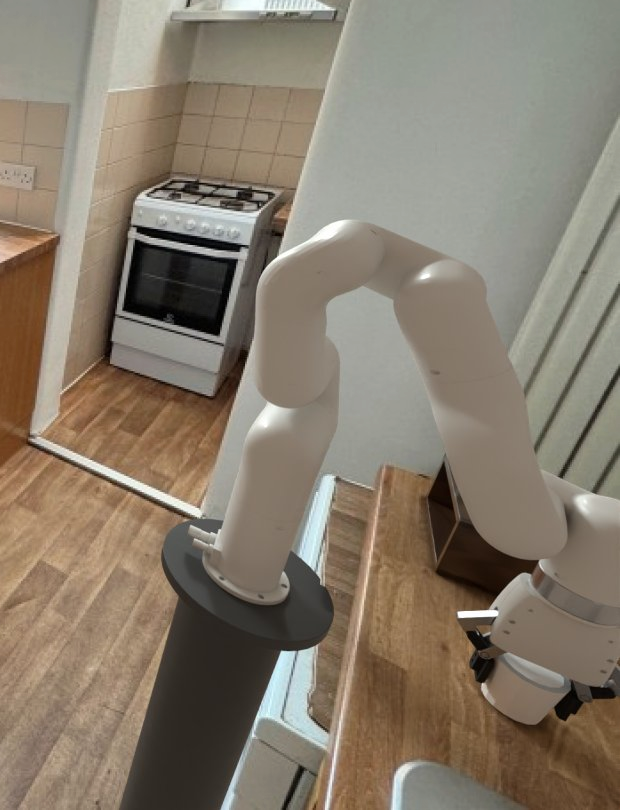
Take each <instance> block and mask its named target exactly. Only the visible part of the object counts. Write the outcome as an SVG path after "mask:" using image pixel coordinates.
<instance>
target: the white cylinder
mask: <svg viewBox="0 0 620 810" xmlns="http://www.w3.org/2000/svg"><path fill="white" fill-rule="evenodd" d="M493 660H494V667H493V669H492V670H491V672H490V674H489V675H488V677H487V679H486V681H485V682H484V683H482V684H481V688H480V690H481V693H482V694H483V696H484V698H485V699H486V700H487V701H488V702H489V704H491V705H492V707H494V708H495V709H496V710H497V711H499V712H500V713H501V714H503V715H505V716H506V717H508V718H510V719H511V720H513V721H516V722H518V723H521V724H524V725H532V726H533V725H534V726H536V725H537V724H539V723H540V722H542V720H544V718H545V717H546V716H547V715H548V714H549V713H550V712H551V711H552V710H553V709H554V707H555V706H556V705H557V704H558V703H559V701H560V700H561V699H562V698H563V697H564V696H565V695H566V694H567V693H568V692H569V691H570V690H571V682H570V681H569V680H570V679H569V678H567V677H564V676H562V675H560V674H557V673H555V672H553V671H550V670H548V669H545V668H543V667H541V666H538V665H536V664H534V663H531V662H529V661H527V660H524V659H522V658H520V657H517V656H515V655H513V654H510V653H505V654H502V655H500V656H497V657H494V658H493Z"/></svg>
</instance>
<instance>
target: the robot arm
mask: <svg viewBox="0 0 620 810" xmlns="http://www.w3.org/2000/svg"><path fill="white" fill-rule="evenodd" d="M361 287H364V288H366V289H369V290H371V291H373V292H374V293H377V294H380V295H381V296H383V297H386V298H388V299H391V300H392V302H393V303H392V304H393V311H394V316H395V318H396V322H397V324H398V327H399V329H400V330H401V334H402V337H403V339H404V341H405V344H406V346H407V348H408V351H409V353H410V355H411V357H412V361H413V362H414V365H415V367H416V370H417V373H418V375H419V377H420V380H421V382H422V385H423V388H424V389H425V392H426V395H427V397H428V401H429V403H430V408H431V412H432V416H433V419H434V422H435V425H436V428H437V431H438V433H439V435H440V439H441V441H442V445H443V449H444V452H446V455H447V458H448V461H449V465H450V468H451V471H452V474H453V477H454V480H455V482H456V485H457V488H458V490H459V493H460V495H461V497H462V500H463V502H464V505H465V507H466V510H467V512H468V514H469V517H470V519H471V521H472V523H473V525H474V527H475V529H476V530H477V532H478V533H479V534H480V535H481V537H482V538H483V539H484V540H485V541H487V542H488V543H489V544H490V545H491V546H493V547H494V548H496V549H497V550H499V551H501V552H503V553H505V554H508V555H510V556H513V557H516V558H520V559H526V560H539V562H538V564H537V566H536V567H535V569H534V571H533V573H532V574H528V573H521V574H520V575H518V576H517V577H516V578H515V579H514V580H512V581H511V582H510V583H509V584H508V585H507V586H506V588H505V589H504V590H503V591H502V592H501V593H500V595H499V596H496V598H495V600H494V601H493V602H492V604H491V605H490V607H488V609H487V610H466V611H465V610H463V611H462V610H461V611H457V612H456V613H455V617H456V621H457V623H458V624H459V626H460V628H461V629H462V630H463V632H464V633H465V635H466V637H467V639H468V641H469V642H470V643H471V644H472V645H473V647H474V648H475V649H474V651H473V653H472V655H471V657H470V659H469V661H468V664H469V665H468V666H469V669H470V670H473V674H474V679H475V682H477V683H479V684H481V685H482V683H484V682H485V681H486V679H487V677H488V675H489V674H490V672H491V670H492V669H493V667H494V660H493V658H494V657H497V656H500V655H502V654H505V653H510V654H513V655H515V656H517V657H520V658H522V659H524V660H527V661H529V662H531V663H534V664H536V665H538V666H541V667H543V668H545V669H548V670H550V671H553V672H555V673H557V674H560V675H562V676H564V677H567V678H568V679H569V681H570V682H571V690H570V691H569V692H568V693H567V694H566V695H565V696H564V697H563V698H562V699H561V700H560V701H559V703H558V704H557V705H556V706H555V707H554V708H553V709H554V712H555V713H554V714H555V716H556V717H557V718H558V719H559V720H561V721H563V722H567V720H568V719H569V717H570V716H571V715H574V716H576V715H577V714H578V712H579V711H580V710H581V707H583V705H584V703H585V704H591V703H593V702H594V700H614V699H615V698H616V697H619V698H620V665H619V664H618V662H619V660H620V499H618V498H614V497H610V496H606V495H600V494H597V493H594V492H591V491H589V490H587V489H585V488H582V487H581V486H578V485H576V484H574V483H572V482H569V481H567V480H565V479H564V478H561V477H559V476H557V475H554V474H553V473H551V472H548V471H546V470H545V469H543V468H542V469H541V468H540V465H539V462H538V458H537V455H536V451H535V447H534V444H533V440H532V439H533V438H532V435H531V428H530V420H529V410H528V406H527V400H526V396H525V392H524V390H523V387H522V384H521V381H520V379H519V376H518V374H517V373H516V370H515V367H514V365H513V363H512V362H511V361H512V360H511V359H510V357H509V354H508V352H507V350H506V347H505V345H504V342H503V340H502V337H501V335H500V333H499V329H498V327H497V325H496V322H495V320H494V317H493V315H492V313H491V312H492V311H491V310H490V307H489V304H488V302H487V295H488V289H487V283H486V281H485V278H483V276H482V275H481V273H479V271H477V269H475V268H474V267H472V266H470V265H469V264H467V263H465V262H463V261H462V260H459V259H457V258H455V257H453V256H450V255H448V254H446V253H443V252H442V251H438V250H436V249H433V248H431V247H429V246H426V245H424V244H422V243H419V242H418V241H417V242H416V241H414V240H412V239H410V238H407V237H405V236H403V235H400V234H398V233H396V232H393V231H391V230H389V229H386V228H384V227H381V226H380V225H377V224H374V223H371V222H369V221H365V220H360V219H341V220H337V221H335V222H330V223H329V224H327V225H325V226H324V227H322V228H321V229H320V230H319V231H317V233H315V234H314V235H312V236H311V237H310V238H309V239H307V240H306V241H304V242H302V243H300V244H298V245H296V246H293V247H292V248H291V249H288V250H286V251H284V252H283V253H281V254H280V255H278V256H277V257H276V258H274V259H273V260H271V262H270V263H269V264H268V265H267V266H266V267H265V268H264V270H263V271H262V273H261V274H260V277H259V279H258V282H257V285H256V291H255V311H254V312H255V317H254V331H253V332H254V334H253V335H254V336H253V337H254V338H253V364H252V365H253V366H252V376H253V377H252V378H253V381H254V385H255V387H256V389H257V391H258V393H259V394H260V396H261V397H263V399H264V400H266V405H265V407H264V408H263V409H262V410H261V412H260V413H259V415H257V416H256V419H255V420H254V422H253V423H252V424H251V426H250V427H249V430H248V432H247V434H246V436H245V439H244V442H243V446H242V451H241V459H240V462H239V467H238V470H237V474H236V477H235V481H234V484H233V488H232V492H231V494H230V498H229V502H228V505H227V508H226V512H225V515H224V518H223V521H224V522H223V525H222V528H221V529H219V530H218V534H215V533H212V532H211V533H210V534H209V533H207V532H205V531H202V530H201V529H199V528H197V527H194V526H192V525H190V527H189V531H188V534H187V535H188V536H190V537H192V538H194V541H193V544H192V546H194V547H196V548H198V549H201V550H204V551H203V555H202V563H203V565H204V568H205V570H206V572H207V573H208V575H209V576H210V577H211V578H212V579H213V580H214V581H215V582H216V583H217V584H218V585H219V586H220V587H221V588H223V589H224V590H225V591H227V592H228V593H230V594H232V595H233V596H235V597H238V598H240V599H242V600H244V601H247V602H250V603H254V604H258V605H276V604H279V603H281V602H283V601H284V600H285V599H286V597H287V596H288V593H289V590H290V584H289V580H288V578H287V576H286V574H285V572H284V571H283V570H284V567H285V564H286V562H287V559H288V556H289V553H290V550H291V551H292V547H293V545H294V542H295V539H296V536H297V534H298V530H299V528H300V525H301V522H302V519H303V517H304V514H305V511H306V509H307V505H308V502H309V500H310V497H311V494H312V492H313V488H314V485H315V483H316V481H317V477H318V476H319V473H320V471H321V468H322V466H323V463H324V460H325V459H326V456H327V454H328V451H329V449H330V446H331V443H332V441H333V438H334V437H335V434H336V432H337V427H338V422H339V405H340V404H339V403H340V382H341V381H340V380H341V379H340V378H341V358H340V354H339V351H338V348H337V346H336V345H335V343H334V341H332V340H331V338H330V337H328V336H327V334H326V332H327V325H328V324H327V322H328V321H327V319H328V318H327V317H328V316H327V306H328V304H329V303H330V302H331V301H332V300H334V299H335V298H336V297H339V296H341V295H344V294H345V295H346V294H347V293H350V292H353V291H355V290H358V289H359V288H361ZM202 541H203V542H202ZM204 542H205V543H204ZM206 543H207V544H206ZM477 626H491V627H490V631H487V632H485V633H482V632H481V630H480V629H478V627H477ZM610 678H611V679H610Z"/></svg>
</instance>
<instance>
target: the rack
mask: <svg viewBox="0 0 620 810" xmlns="http://www.w3.org/2000/svg"><path fill="white" fill-rule="evenodd" d="M444 452H445V451H444ZM424 503H425V510H426V517H427V524H428V525H427V526H428V532H429V536H430V537H429V540H430V546H431V552H432V559H433V567H434V573H436V574H439V575H440V576H444V577H447V578H449V579H452V580H454V581H457V582H460V583H462V584H463V585H467V586H470V587H472V588H474V589H478V590H480V591H482V592H485V593H487V594H489V595H493V596H495V597H498V596H499V595H500V593H501V592H502V591H503V590H504V589H505V588H506V586H507V585H508V584H509V583H510V582H511V581H512V580H514V579H515V578H516V577H517V576H518V575H520V574H521V573H528V574H532V573H533V571H534V569H535V567H536V566H537V564H538V562H539V560H526V559H520V558H516V557H513V556H510V555H508V554H505V553H503V552H501V551H499V550H497V549H496V548H494V547H493V546H491V545H490V544H489V543H488V542H487V541H485V540H484V539H483V538H482V537H481V535H480V534H479V533H478V532H477V530H476V529H475V527H474V525H473V523H472V521H471V519H470V517H469V514H468V512H467V510H466V507H465V505H464V502H463V500H462V497H461V495H460V493H459V490H458V488H457V485H456V482H455V480H454V477H453V474H452V471H451V468H450V465H449V461H448V458H447V455H446V452H445V453H444V455H443V457H442V460H441V461H440V463H439V466H438V468H437V470H436V473H435V475H434V477H433V479H432V481H431V484H430V486H429V488H428V491H427V492H426V495H425V497H424Z"/></svg>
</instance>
